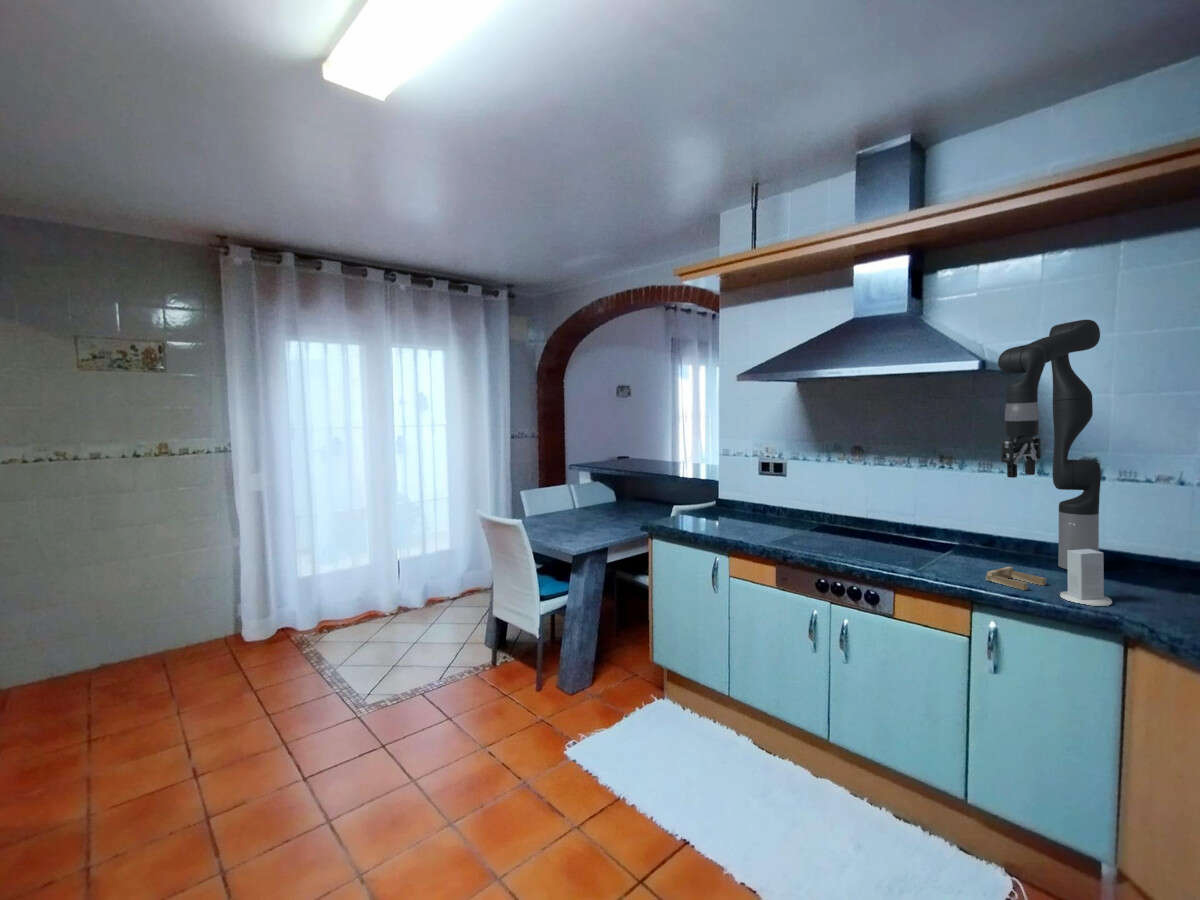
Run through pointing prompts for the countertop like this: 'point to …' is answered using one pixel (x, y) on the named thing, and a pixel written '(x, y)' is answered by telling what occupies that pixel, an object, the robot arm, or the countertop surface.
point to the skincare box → (1085, 574)
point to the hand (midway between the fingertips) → (1021, 476)
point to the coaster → (1092, 602)
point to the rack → (1007, 572)
